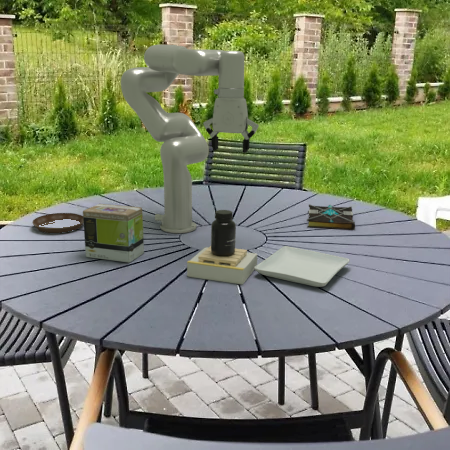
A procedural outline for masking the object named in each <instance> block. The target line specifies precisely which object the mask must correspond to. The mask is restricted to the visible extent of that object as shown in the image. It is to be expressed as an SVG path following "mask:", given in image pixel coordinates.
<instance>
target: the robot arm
mask: <svg viewBox="0 0 450 450" xmlns="http://www.w3.org/2000/svg"><path fill="white" fill-rule="evenodd" d="M143 60H144V63H145V65H146V67H145V66H143V67H142V66H141V67H132V68H129V69H126V70H124V72H123V73H122V75H121V78H120V89H121V93H122V95H123V98H124V100H125V101H126V103H127V105H129V107H130V108H131V109H132V110H133V111H134V112H135V114H136V115H137V116H138V118H139V119H140V120H141V122H142V124H143V125H144V127H145V128H146V131H147V132H148V133H149V134H150V136H151V137H152V138H153V140H155V141H156V142H159V143H160V142H161V143H162V144H161V146H160V151H159V154H160V160H161V164H162V171H163V199H164V201H163V202H164V206H163V207H164V213H163V214H159V213H155V215H154V221H156V222H161V224H160V229H161V231H163V232H165V233H169V234H170V233H171V234H184V233H185V234H186V233H190V232H193V231H196V229H197V224H196V222H194V221H193V180H192V179H193V178H192V175H191V173H190V170H189V168H188V165H192V164H199V163H201V162H204V161H205V160H206V159H207V158H208V156H209V151H210V150H209V145H208V142H207V140H206V138H205V136H203V133H201V131H200V130H199V128H198V127H197V126H196V124H195V123H194V121H193V120H192V118H191V117H190V116H188V115H187V114H185V113H183V112H167V111H166V110H165V109H164V108H163V107H162V105H161V104H160V103H159V102H158V100H156V99H155V98H154V96H151V95H150V94H149V93H156V92H158V93H159V92H164V91H165V90H167V89H168V88H169V87H170V86H171V85H172V83H173V82H175V79H176V78H177V77H178V76H179V75H185V76H192V77H194V76H195V77H206V76H208V77H209V76H216V77H217V76H218V87H217V89H214V90H213V93H214V95H217V98H215V101H214V106H213V112H212V113H213V114H212V117H211V118H209V119H207V120H206V121H204V122H203V126H204V128H205V131H206V133H208V135H209V137H210V138H211V148H212V151H214V152H215V151H217V150H219V136H218V134H219V133H226V134H227V133H228V134H229V133H230V134H241V135H242V137H243V140H242V153H243V154H244V153H245V154H246V153H248V150H250V141H251V140H250V139H251V138H253V136H254V135H255V134H256V132H257V131H258V129H259V127H260V125H259V124H257V123H256V122H254V121H253V120H251V119H250V118H249V117H248V116H249V114H248V112H249V111H248V105H247V100H246V98H245V97H244V95H245V93H244V91H245V53H244V52H243V51H240V50H222V49H191V48H190V49H188V48H187V47H186V46H184V45H175V44H154V45H151V46H149V47H148V48H147V49H146V50H145V52H144V55H143ZM211 124H212V127H211V126H210V125H211ZM249 126H250V127H252V128H251V130H250V132H249V131H248V129H249Z"/></svg>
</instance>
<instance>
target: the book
mask: <svg viewBox="0 0 450 450" xmlns="http://www.w3.org/2000/svg"><path fill="white" fill-rule="evenodd" d="M308 207H309V209H308V210H307V213H308V218H307V219H306V222H308V225H306V228H307V229H308V228H309V229H310V228H319V229H322V228H323V229H333V230H335V229H336V230H337V229H338V230H344V231H345V230H346V231H347V230H348V231H353V230H356V221H354V220H353V219H354V213H353V206H351V205H350V206H332V204H328V206H322V205H321V206H320V205H312V204H311V203H310V204H308Z"/></svg>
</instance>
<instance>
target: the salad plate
mask: <svg viewBox="0 0 450 450" xmlns="http://www.w3.org/2000/svg"><path fill="white" fill-rule="evenodd" d="M349 263H350V259H349V258H347V257H343V256H338V255H334V254H328V253H323V252H319V251H314V250H309V249H303V248H299V247H293V246H287V245H285V246H282V247H281V248H280V249H278V250H277V251H275V252H274V253H272V254H271V255H270V256H268V257H267V258H265V259H264V260H262V261H261V262H260V263H257V266H255V267H254V269H255V270H254V271H256V272H257V273H259V274H260V275H264V276H266V277H270V278H274V279H279V280H284V281H288V282H292V283H297V284H301V285H306V286H311V287H317V288H319V287H320V288H321V287H325V286H326V285H327V284H328V283H329V282H330V281H331V280H332V278H334V277H335V275H336V274H337V273H338V272H339V271H341V270H342V269H343V268H345V267H346V266H347V265H348V264H349Z"/></svg>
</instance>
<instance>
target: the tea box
mask: <svg viewBox="0 0 450 450" xmlns="http://www.w3.org/2000/svg"><path fill="white" fill-rule="evenodd" d="M143 214H144V213H143V207H141V206H140V207H139V206H128V205H118V204H107V203H98V204H96V205H93V206H91V207H89V208H87V209H84V210H83V211H82V216H83V222H84V223H83V233H84V248H85V250H84V251H85V257H86V258H93V259H100V260H109V261H116V262H121V263H129V264H130V263H131V262H133V261H135V260H137V258H139V257H141V256H142V255H143V254H144V252H145V245H144V242H145V241H144V220H143V219H144V217H143Z"/></svg>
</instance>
